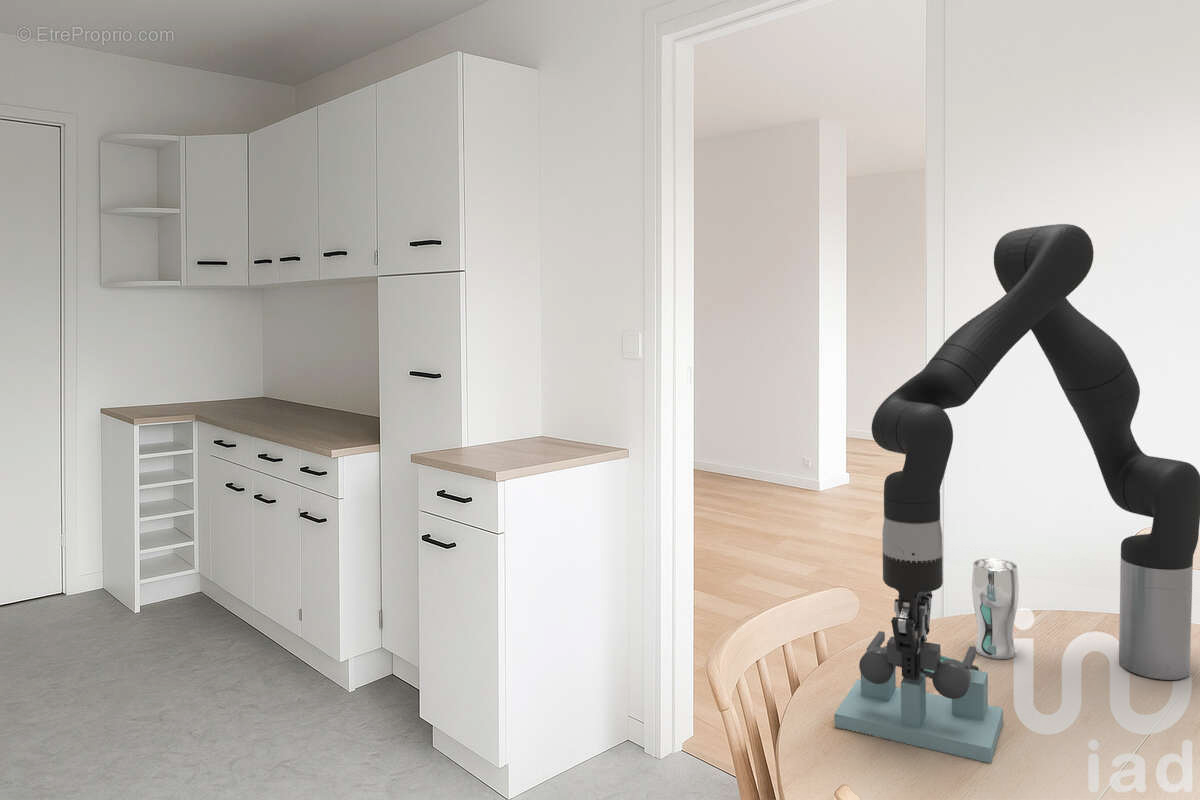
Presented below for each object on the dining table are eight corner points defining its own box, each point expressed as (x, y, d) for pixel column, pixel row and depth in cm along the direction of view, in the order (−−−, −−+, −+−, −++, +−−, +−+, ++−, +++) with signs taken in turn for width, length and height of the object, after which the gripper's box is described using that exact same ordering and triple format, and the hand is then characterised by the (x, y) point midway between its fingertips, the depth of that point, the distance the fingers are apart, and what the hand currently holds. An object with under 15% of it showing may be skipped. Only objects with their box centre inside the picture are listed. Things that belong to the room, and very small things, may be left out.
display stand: (858, 691, 126) (857, 641, 125) (1003, 721, 115) (1003, 666, 114) (834, 727, 116) (833, 672, 115) (990, 763, 105) (990, 703, 104)
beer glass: (1023, 661, 133) (1024, 571, 131) (977, 660, 134) (977, 571, 133) (1011, 644, 140) (1011, 558, 138) (967, 642, 141) (967, 557, 140)
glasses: (876, 655, 123) (876, 615, 122) (979, 673, 115) (979, 630, 114) (859, 680, 115) (858, 637, 114) (968, 702, 107) (968, 656, 107)
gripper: (931, 568, 102) (932, 701, 104) (951, 539, 114) (952, 659, 116) (869, 561, 106) (871, 689, 108) (895, 533, 118) (896, 650, 120)
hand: (913, 673), depth 112 cm, fingers closed on glasses, 2 cm apart
